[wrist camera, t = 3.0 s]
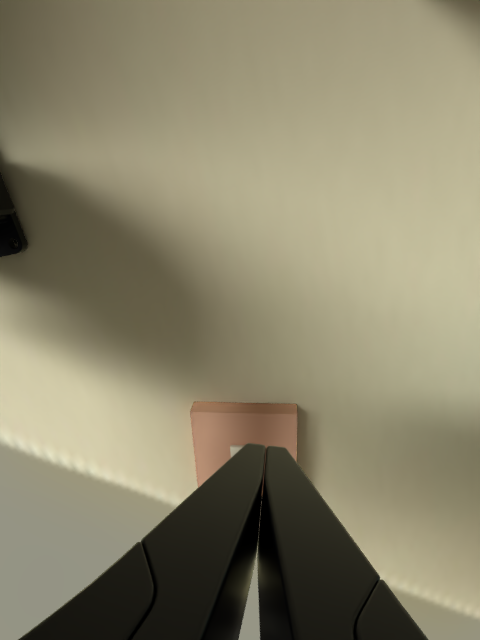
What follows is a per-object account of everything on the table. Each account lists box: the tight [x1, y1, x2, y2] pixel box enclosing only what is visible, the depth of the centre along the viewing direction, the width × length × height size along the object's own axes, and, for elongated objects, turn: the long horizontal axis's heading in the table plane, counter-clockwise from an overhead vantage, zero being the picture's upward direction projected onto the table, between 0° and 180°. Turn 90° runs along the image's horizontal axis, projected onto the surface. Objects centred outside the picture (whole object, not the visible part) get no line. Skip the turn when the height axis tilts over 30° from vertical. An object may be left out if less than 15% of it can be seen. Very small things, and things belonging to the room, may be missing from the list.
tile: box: [190, 402, 297, 492], centre depth 22 cm, size 6×6×2 cm
